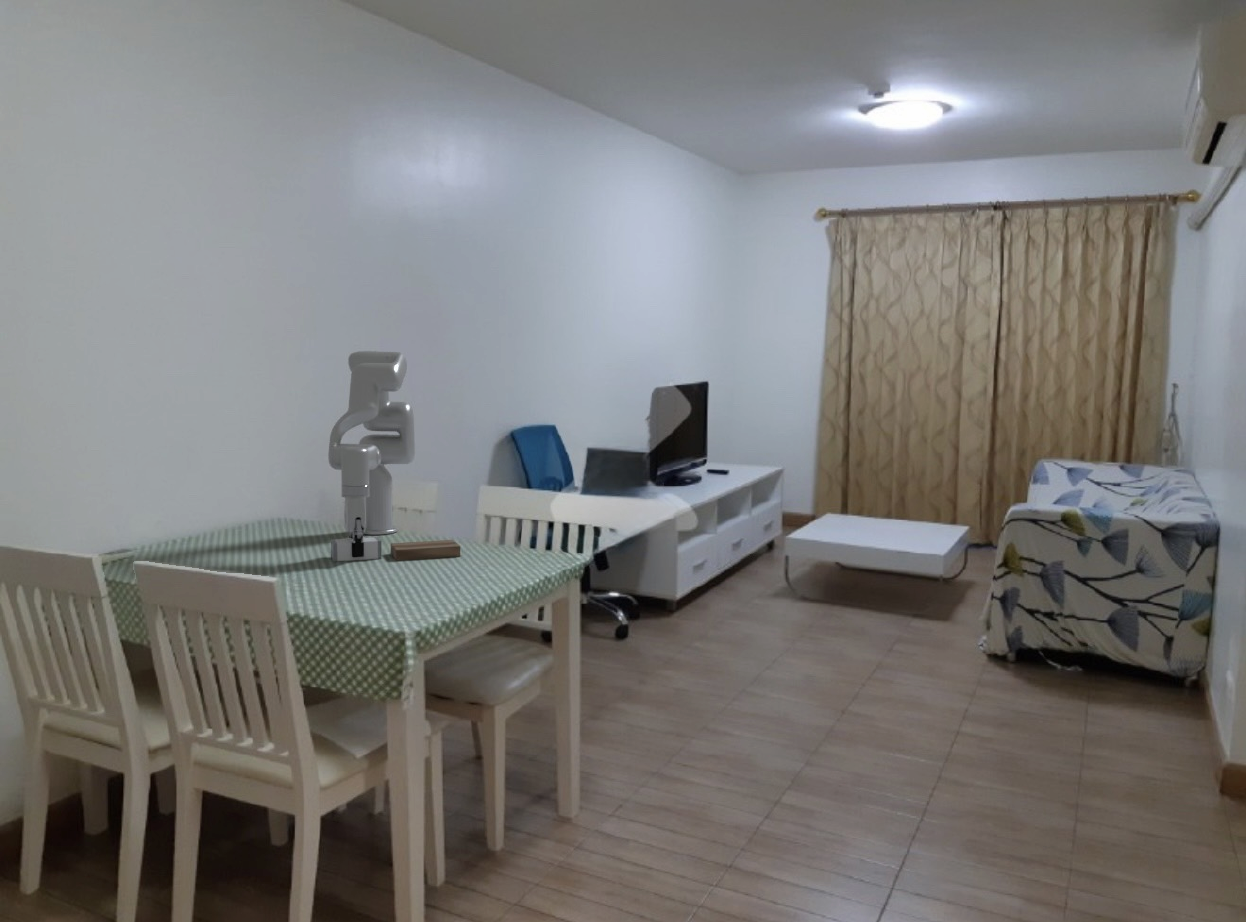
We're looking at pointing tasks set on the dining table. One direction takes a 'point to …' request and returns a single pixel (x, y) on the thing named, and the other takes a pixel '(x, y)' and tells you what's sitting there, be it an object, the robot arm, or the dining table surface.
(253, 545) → the dining table surface
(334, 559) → the block
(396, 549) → the walnut stand
